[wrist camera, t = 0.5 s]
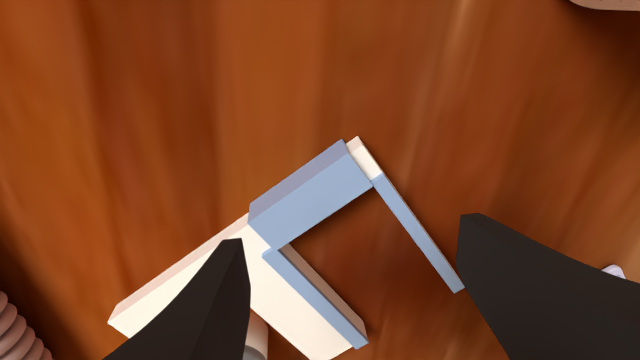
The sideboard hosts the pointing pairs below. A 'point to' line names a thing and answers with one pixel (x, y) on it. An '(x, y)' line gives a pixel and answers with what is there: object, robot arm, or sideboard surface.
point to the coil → (18, 336)
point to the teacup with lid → (610, 4)
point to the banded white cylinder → (256, 339)
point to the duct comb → (293, 255)
